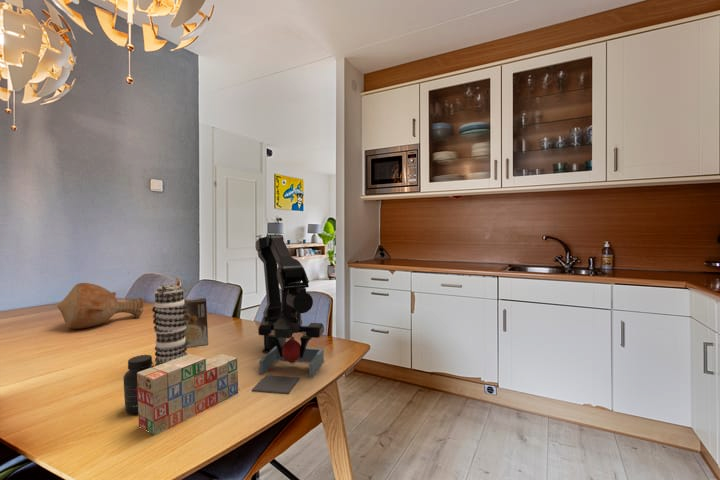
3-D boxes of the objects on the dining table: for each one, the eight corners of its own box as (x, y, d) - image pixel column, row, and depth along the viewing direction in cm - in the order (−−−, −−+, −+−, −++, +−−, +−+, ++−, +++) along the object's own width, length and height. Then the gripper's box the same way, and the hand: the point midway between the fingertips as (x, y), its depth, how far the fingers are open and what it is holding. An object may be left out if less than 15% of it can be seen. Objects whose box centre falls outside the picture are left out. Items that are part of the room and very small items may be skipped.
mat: (251, 391, 90) (251, 389, 90) (266, 376, 99) (266, 374, 99) (288, 394, 89) (288, 392, 89) (299, 378, 98) (299, 377, 98)
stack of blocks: (222, 387, 93) (221, 342, 92) (238, 393, 90) (237, 346, 89) (137, 428, 74) (136, 371, 74) (154, 437, 71) (152, 378, 71)
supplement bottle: (135, 401, 85) (133, 353, 85) (164, 399, 86) (162, 352, 86) (118, 416, 79) (116, 364, 78) (149, 415, 79) (148, 363, 79)
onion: (297, 367, 101) (297, 340, 101) (278, 366, 102) (278, 339, 102) (304, 360, 107) (304, 334, 106) (286, 358, 108) (286, 333, 107)
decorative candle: (154, 376, 99) (151, 289, 98) (153, 365, 107) (151, 285, 106) (189, 369, 104) (187, 286, 103) (186, 359, 112) (184, 282, 111)
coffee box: (208, 339, 131) (207, 297, 130) (208, 345, 125) (207, 300, 124) (180, 343, 127) (179, 299, 126) (179, 348, 121) (178, 303, 121)
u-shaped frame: (259, 374, 101) (259, 360, 100) (275, 358, 112) (275, 346, 112) (312, 377, 98) (312, 363, 98) (323, 361, 110) (323, 348, 110)
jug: (50, 298, 148) (129, 295, 172) (52, 339, 141) (135, 330, 164) (63, 273, 139) (145, 274, 163) (66, 316, 132) (152, 310, 155)
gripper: (249, 311, 97) (250, 366, 98) (314, 313, 94) (314, 370, 95) (265, 302, 108) (266, 351, 109) (324, 304, 105) (324, 355, 106)
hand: (291, 357), depth 104 cm, fingers closed on onion, 6 cm apart
